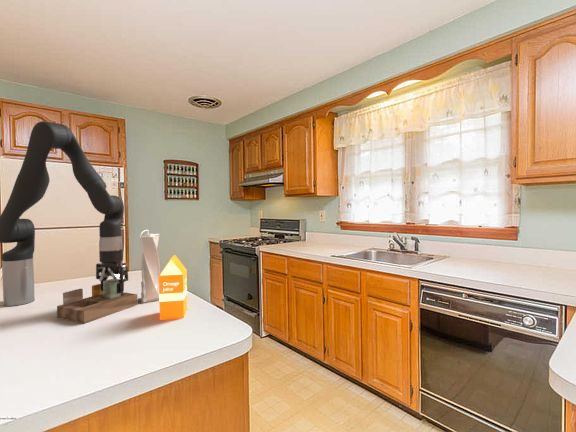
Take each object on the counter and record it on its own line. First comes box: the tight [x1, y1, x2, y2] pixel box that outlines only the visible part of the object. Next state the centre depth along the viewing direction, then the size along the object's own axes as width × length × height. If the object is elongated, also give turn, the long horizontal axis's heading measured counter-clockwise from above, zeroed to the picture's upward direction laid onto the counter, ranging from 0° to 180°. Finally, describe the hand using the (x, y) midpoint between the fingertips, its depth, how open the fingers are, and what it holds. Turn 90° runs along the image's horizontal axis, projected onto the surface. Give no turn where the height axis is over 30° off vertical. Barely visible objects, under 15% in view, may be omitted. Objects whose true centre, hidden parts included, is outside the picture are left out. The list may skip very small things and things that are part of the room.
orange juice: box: [158, 254, 188, 321], centre depth 103 cm, size 8×9×20 cm
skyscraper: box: [137, 229, 161, 305], centre depth 121 cm, size 8×8×28 cm
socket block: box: [56, 283, 139, 324], centre depth 108 cm, size 14×20×8 cm
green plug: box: [103, 278, 121, 299], centre depth 112 cm, size 4×4×10 cm
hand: (112, 291), depth 112 cm, fingers open, 8 cm apart
